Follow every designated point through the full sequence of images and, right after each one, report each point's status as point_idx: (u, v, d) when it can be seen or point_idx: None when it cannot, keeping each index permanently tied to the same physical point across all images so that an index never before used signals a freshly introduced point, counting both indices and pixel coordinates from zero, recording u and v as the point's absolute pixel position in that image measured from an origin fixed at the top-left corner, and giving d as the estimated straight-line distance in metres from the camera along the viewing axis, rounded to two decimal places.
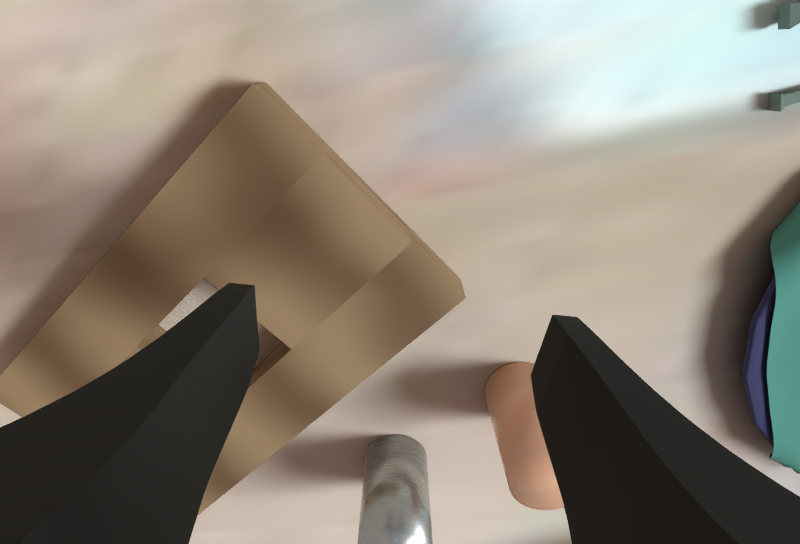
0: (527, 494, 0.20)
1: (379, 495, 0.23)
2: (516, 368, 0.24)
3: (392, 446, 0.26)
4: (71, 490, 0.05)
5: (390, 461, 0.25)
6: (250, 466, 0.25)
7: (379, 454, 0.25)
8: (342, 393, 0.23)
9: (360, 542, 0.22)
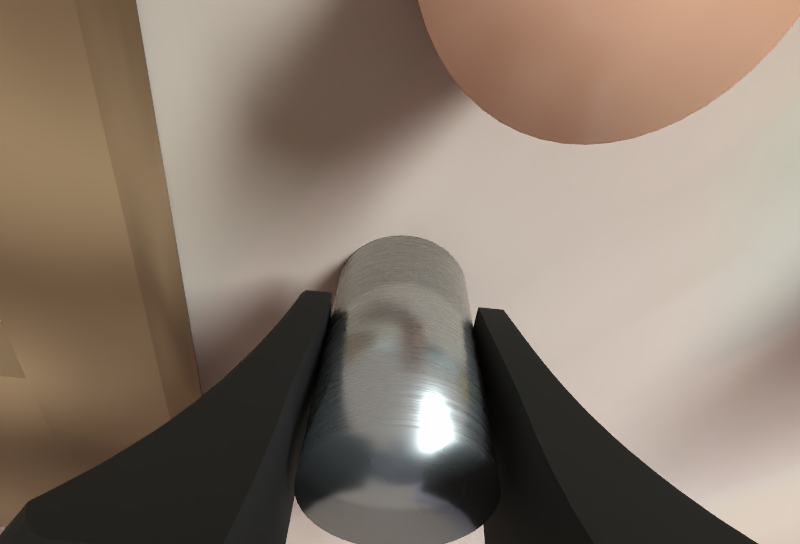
0: (579, 88, 0.04)
1: (319, 376, 0.09)
2: None
3: (351, 271, 0.12)
4: (236, 503, 0.05)
5: (343, 298, 0.11)
6: None
7: (335, 300, 0.12)
8: (117, 225, 0.10)
9: None
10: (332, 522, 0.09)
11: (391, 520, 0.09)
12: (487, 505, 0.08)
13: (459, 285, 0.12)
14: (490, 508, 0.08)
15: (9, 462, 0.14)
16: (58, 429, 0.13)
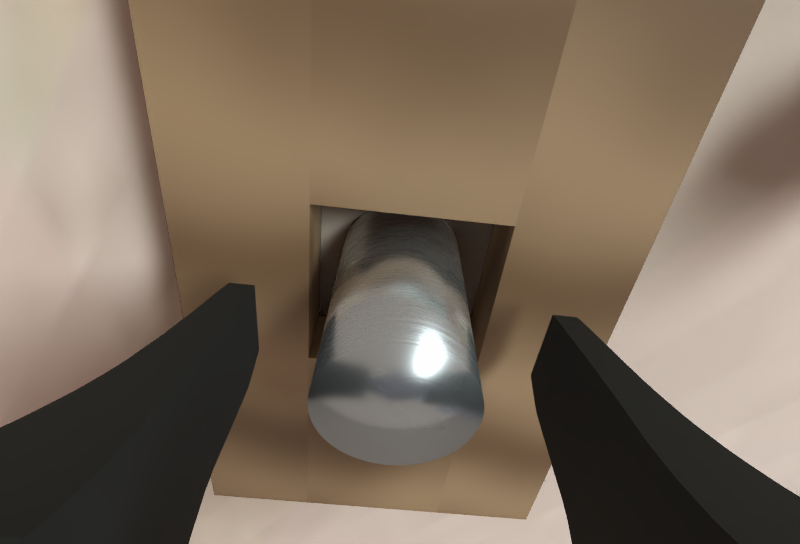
0: None
1: (328, 316, 0.11)
2: None
3: (355, 233, 0.13)
4: (71, 490, 0.05)
5: (349, 254, 0.12)
6: None
7: (341, 258, 0.13)
8: (645, 244, 0.12)
9: None
10: (339, 437, 0.10)
11: (389, 436, 0.10)
12: (472, 420, 0.10)
13: (452, 246, 0.13)
14: (475, 424, 0.10)
15: None
16: None
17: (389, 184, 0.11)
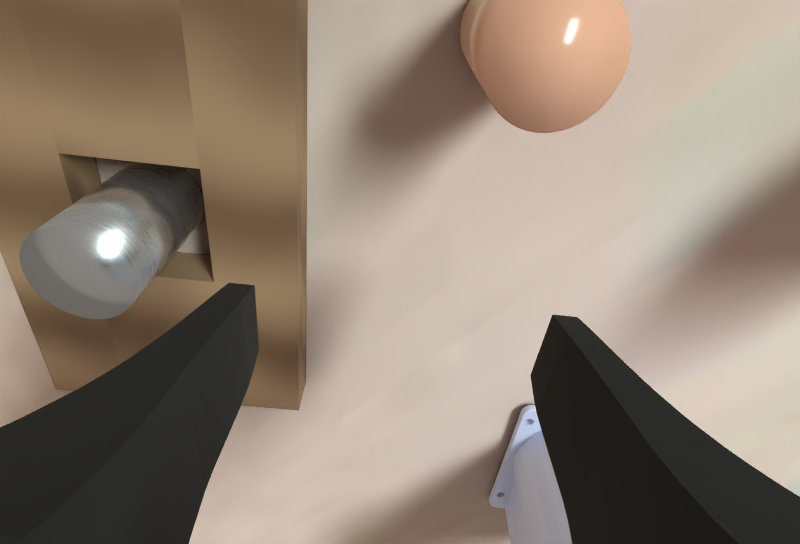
0: (541, 111, 0.12)
1: None
2: None
3: None
4: (71, 490, 0.05)
5: None
6: (292, 324, 0.21)
7: None
8: (292, 181, 0.17)
9: None
10: (53, 297, 0.16)
11: (83, 295, 0.16)
12: (129, 282, 0.15)
13: (178, 186, 0.19)
14: (133, 285, 0.15)
15: None
16: None
17: (106, 139, 0.17)
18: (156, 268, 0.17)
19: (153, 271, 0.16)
